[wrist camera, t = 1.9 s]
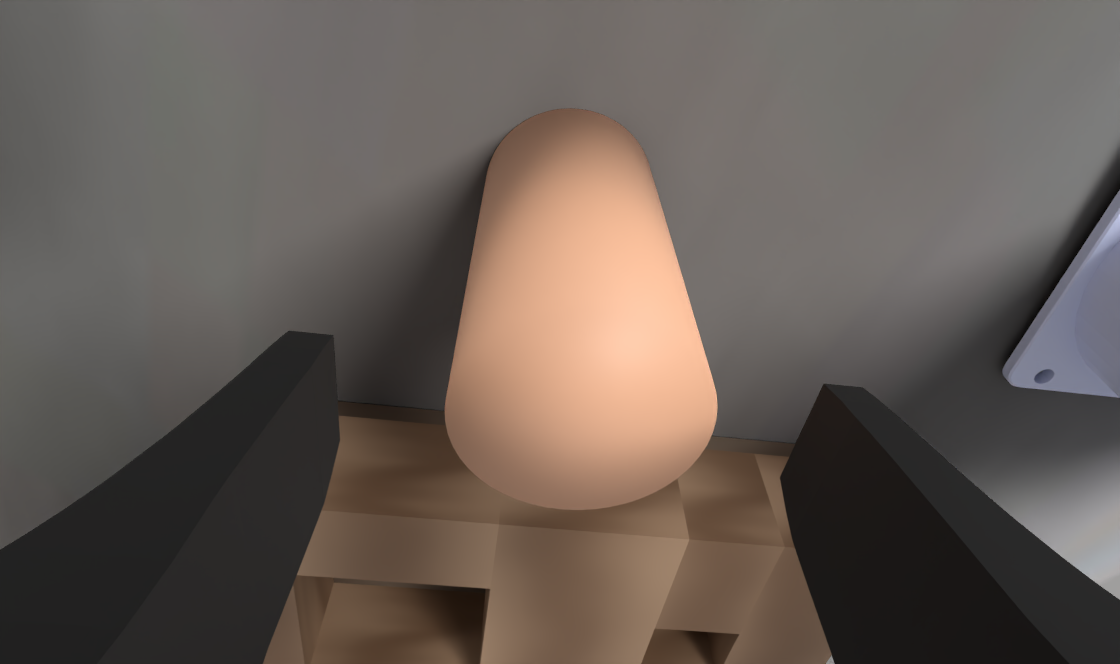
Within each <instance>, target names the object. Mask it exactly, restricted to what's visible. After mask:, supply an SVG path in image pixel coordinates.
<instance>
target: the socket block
mask: <svg viewBox="0 0 1120 664" xmlns="http://www.w3.org/2000/svg"><path fill="white" fill-rule="evenodd" d="M338 414H339V429H340V443H339V447H338V451H337V455H336V459H335V463H334V467H333V472H332V476H331V479H330V483H329V487H328V491H327V495H326V499H325V502H324V505H323V508H322V511H321V513H320V516H319V519H318V521H317V524H316V526H315V529H314V532H313V534H312V537H311V540H310V542H309V545H308V547H307V550H306V553H305V555H304V558H303V560H302V563H301V565H300V568H299V571H298V573H297V576H296V578H295V581H294V583H293V586H292V589H291V591H290V594H289V596H288V599H287V601H286V604H285V606H284V609H283V612H282V614H281V617H280V619H279V622H278V624H277V627H276V630H275V632H274V635H273V637H272V640H271V642H270V645H269V648H268V650H267V653H266V656H265V659H264V662H263V664H826V662H827V661H828V659H829V658H830V656H831V655H832V654H831V651H830V648H829V646H828V643H827V640H826V637H825V634H824V631H823V628H822V626H821V623H820V620H819V617H818V614H817V611H816V608H815V606H814V603H813V600H812V597H811V594H810V591H809V588H808V585H807V583H806V580H805V577H804V574H803V571H802V568H801V565H800V562H799V559H798V556H797V553H796V550H795V547H794V544H793V541H792V537H791V532H790V528H789V523H788V519H787V514H786V509H785V504H784V498H783V492H782V487H781V481H780V476H781V474H782V471H783V469H784V467H785V465H786V463H787V461H788V459H789V457H790V454H791V452H792V450H793V448H794V446H795V444H791V443H780V442H770V441H759V440H748V439H737V438H727V437H716V436H711V438H710V440H709V442H708V444H707V446H706V448H705V449H704V451H703V452H702V454H701V455H700V457H699V458H698V459H697V460H696V461H695V462H694V464H693V465H692V466H691V467H690V468H689V469H688V470H687V471H686V472H684V473H683V474H682V475H681V476H680V477H679V478H677V479H676V480H674V481H673V482H672V483H670V484H669V485H667V486H665V487H664V488H662V489H660V490H658V491H656V492H655V493H652V494H650V495H648V496H645V497H643V498H641V499H638V500H635V501H632V502H629V503H626V504H621V505H617V506H613V507H607V508H600V509H590V510H563V509H555V508H547V507H542V506H537V505H533V504H529V503H526V502H523V501H520V500H517V499H514V498H512V497H510V496H507V495H505V494H503V493H501V492H499V491H498V490H496V489H494V488H492V487H490V486H489V485H488V484H486V483H485V482H483V481H482V480H481V479H479V478H478V477H477V476H476V475H475V474H474V473H473V472H472V471H471V470H469V469H468V467H467V466H466V465H465V464H464V463H463V461H462V460H461V459H460V458H459V456H458V454H457V453H456V451H455V449H454V448H453V446H452V443H451V441H450V438H449V436H448V433H447V428H446V423H445V411H437V410H427V409H416V408H405V407H395V406H384V405H373V404H362V403H352V402H341V401H338Z"/></svg>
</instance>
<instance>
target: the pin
mask: <svg viewBox="0 0 1120 664" xmlns="http://www.w3.org/2000/svg"><path fill="white" fill-rule="evenodd" d="M717 408H718V406H717V394H716V390H715V386H714V382H713V379H712V375H711V372H710V369H709V365H708V362H707V358H706V355H705V352H704V348H703V345H702V342H701V338H700V335H699V331H698V328H697V325H696V321H695V318H694V315H693V311H692V308H691V304H690V301H689V298H688V294H687V291H686V288H685V284H684V281H683V278H682V274H681V271H680V267H679V264H678V261H677V257H676V254H675V251H674V247H673V244H672V240H671V237H670V234H669V230H668V227H667V224H666V220H665V217H664V213H663V210H662V207H661V203H660V200H659V197H658V193H657V190H656V186H655V183H654V180H653V176H652V173H651V170H650V166H649V163H648V160H647V158H646V155H645V153H644V151H643V149H642V148H641V146H640V144H639V143H638V142H637V140H636V139H635V138H634V137H633V135H632V134H631V133H630V132H629V131H627V130H626V129H625V128H624V127H623V126H622V125H620V124H619V123H617V122H616V121H614V120H612V119H610V118H608V117H606V116H604V115H602V114H599V113H596V112H593V111H588V110H583V109H571V108H569V109H557V110H552V111H547V112H544V113H541V114H538V115H535V116H533V117H531V118H529V119H527V120H525V121H524V122H522V123H521V124H519V125H518V126H516V127H515V128H514V129H513V130H512V131H511V132H509V133H508V134H507V135H506V137H505V138H504V139H503V140H502V141H501V143H500V144H499V146H498V147H497V149H496V150H495V152H494V154H493V156H492V159H491V161H490V164H489V167H488V170H487V176H486V181H485V187H484V192H483V198H482V203H481V209H480V214H479V220H478V225H477V230H476V236H475V241H474V247H473V252H472V258H471V263H470V269H469V274H468V280H467V285H466V291H465V296H464V302H463V307H462V313H461V318H460V324H459V329H458V335H457V340H456V346H455V351H454V357H453V362H452V367H451V373H450V378H449V384H448V389H447V395H446V402H445V423H446V428H447V433H448V436H449V438H450V441H451V443H452V446H453V448H454V449H455V451H456V453H457V454H458V456H459V458H460V459H461V460H462V461H463V463H464V464H465V465H466V466H467V467H468V469H469V470H471V471H472V472H473V473H474V474H475V475H476V476H477V477H478V478H479V479H481V480H482V481H483V482H485V483H486V484H488V485H489V486H490V487H492V488H494V489H496V490H498V491H499V492H501V493H503V494H505V495H507V496H510V497H512V498H514V499H517V500H520V501H523V502H526V503H529V504H533V505H537V506H542V507H547V508H555V509H563V510H590V509H600V508H607V507H613V506H617V505H621V504H626V503H629V502H632V501H635V500H638V499H641V498H643V497H645V496H648V495H650V494H652V493H655V492H656V491H658V490H660V489H662V488H664V487H665V486H667V485H669V484H670V483H672V482H673V481H674V480H676V479H677V478H679V477H680V476H681V475H682V474H683V473H684V472H686V471H687V470H688V469H689V468H690V467H691V466H692V465H693V464H694V462H695V461H696V460H697V459H698V458H699V457H700V455H701V454H702V452H703V451H704V449H705V448H706V446H707V444H708V442H709V440H710V438H711V436H712V433H713V430H714V426H715V423H716V418H717Z"/></svg>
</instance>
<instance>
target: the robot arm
mask: <svg viewBox="0 0 1120 664" xmlns="http://www.w3.org/2000/svg"><path fill="white" fill-rule="evenodd" d="M1042 370H1043V371H1042ZM1040 371H1042V372H1040ZM1002 372H1003V376H1004V377H1005V378H1006V379H1007V381H1008V382H1009V383H1010V384H1011V385H1012V386H1016V387H1022V388H1031V389H1041V390H1050V391H1060V392H1070V393H1079V394H1089V395H1098V396H1108V397H1118V398H1120V190H1119V191H1118V193H1117V195H1116V196H1115V198H1114V199H1113V201H1112V202H1111V204H1110V205H1109V207H1108V208H1107V210H1106V211H1105V213H1104V214H1103V216H1102V217H1101V219H1100V220H1099V222H1098V223H1097V225H1096V227H1095V228H1094V230H1093V231H1092V233H1091V234H1090V236H1089V237H1088V239H1087V240H1086V242H1085V243H1084V245H1083V246H1082V248H1081V249H1080V251H1079V252H1078V254H1077V255H1076V257H1075V259H1074V260H1073V262H1072V263H1071V265H1070V266H1069V268H1068V269H1067V271H1066V272H1065V274H1064V275H1063V277H1062V278H1061V280H1060V281H1059V283H1058V284H1057V286H1056V287H1055V289H1054V290H1053V292H1052V294H1051V295H1050V297H1049V298H1048V300H1047V301H1046V303H1045V304H1044V306H1043V307H1042V309H1041V310H1040V312H1039V313H1038V315H1037V316H1036V318H1035V319H1034V321H1033V322H1032V324H1031V326H1030V327H1029V329H1028V330H1027V332H1026V333H1025V335H1024V336H1023V338H1022V339H1021V341H1020V342H1019V344H1018V345H1017V347H1016V348H1015V350H1014V351H1013V353H1012V354H1011V356H1010V358H1009V359H1008V361H1007V362H1006V364H1005V365H1004V368H1003V370H1002ZM1039 372H1040V373H1039ZM339 443H340V429H339V414H338V399H337V384H336V368H335V353H334V338H333V335H326V334H316V333H306V332H296V331H288V332H287V333H285V334H284V335H283V336H282V337H280V338H279V339H278V340H277V341H276V342H275V343H273V344H272V345H271V346H270V347H269V348H268V349H267V350H265V351H264V352H263V353H262V354H261V355H260V356H259V357H258V358H256V359H255V360H254V361H253V362H252V363H251V364H250V365H249V366H247V367H246V368H245V369H244V370H243V371H242V372H241V373H240V374H238V375H237V376H236V377H235V378H234V379H233V380H232V381H230V382H229V383H228V384H227V385H226V386H225V387H223V388H222V389H221V390H220V391H219V392H218V393H217V394H215V395H214V396H213V397H212V398H211V399H209V400H208V401H207V402H206V403H205V404H203V405H202V406H201V407H200V408H199V409H197V410H196V411H195V412H194V413H193V414H191V415H190V416H189V417H188V418H187V419H185V420H184V421H183V422H182V423H181V424H179V425H178V426H177V427H176V428H174V429H173V430H172V431H171V432H169V433H168V434H167V435H166V436H164V437H163V438H162V439H160V440H159V441H158V442H156V443H155V444H154V445H153V446H151V447H150V448H149V449H147V450H146V451H145V452H143V453H142V454H141V455H139V456H138V457H137V458H135V459H134V460H133V461H131V462H130V463H129V464H127V465H126V466H125V467H123V468H122V469H121V470H119V471H118V472H117V473H116V474H114V475H113V476H111V477H110V478H109V479H107V480H106V481H105V482H103V483H102V484H100V485H99V486H97V487H96V488H95V489H93V490H92V491H90V492H89V493H87V494H86V495H85V496H83V497H82V498H80V499H79V500H77V501H76V502H74V503H73V504H71V505H70V506H69V507H67V508H66V509H64V510H63V511H61V512H59V513H58V514H56V515H55V516H53V517H52V518H50V519H49V520H47V521H46V522H44V523H42V524H41V525H39V526H38V527H36V528H35V529H33V530H32V531H30V532H28V533H27V534H25V535H24V536H22V537H20V538H19V539H17V540H16V541H14V542H12V543H11V544H9V545H7V546H6V547H4V548H2V549H1V550H0V664H263V662H264V659H265V656H266V653H267V650H268V648H269V645H270V642H271V640H272V637H273V635H274V632H275V630H276V627H277V624H278V622H279V619H280V617H281V614H282V612H283V609H284V606H285V604H286V601H287V599H288V596H289V594H290V591H291V589H292V586H293V583H294V581H295V578H296V576H297V573H298V571H299V568H300V565H301V563H302V560H303V558H304V555H305V553H306V550H307V547H308V545H309V542H310V540H311V537H312V534H313V532H314V529H315V526H316V524H317V521H318V519H319V516H320V513H321V511H322V508H323V505H324V502H325V499H326V495H327V491H328V487H329V483H330V479H331V476H332V472H333V467H334V463H335V459H336V455H337V451H338V447H339ZM780 481H781V487H782V492H783V498H784V504H785V509H786V514H787V519H788V523H789V528H790V532H791V537H792V541H793V544H794V547H795V550H796V553H797V556H798V559H799V562H800V565H801V568H802V571H803V574H804V577H805V580H806V583H807V585H808V588H809V591H810V594H811V597H812V600H813V603H814V606H815V608H816V611H817V614H818V617H819V620H820V623H821V626H822V628H823V631H824V634H825V637H826V640H827V643H828V646H829V648H830V651H831V654H832V657H833V660H834V663H835V664H1120V600H1119V599H1118V598H1116V597H1115V596H1113V595H1112V594H1111V593H1109V592H1108V591H1106V590H1105V589H1103V588H1102V587H1101V586H1099V585H1098V584H1097V583H1095V582H1094V581H1093V580H1091V579H1090V578H1089V577H1087V576H1086V575H1085V574H1083V573H1082V572H1081V571H1079V570H1078V569H1077V568H1075V567H1074V566H1073V565H1071V564H1070V563H1069V562H1067V561H1066V560H1065V559H1064V558H1062V557H1061V556H1060V555H1059V554H1057V553H1056V552H1055V551H1054V550H1052V549H1051V548H1050V547H1049V546H1047V545H1046V544H1045V543H1044V542H1042V541H1041V540H1040V539H1039V538H1037V537H1036V536H1035V535H1034V534H1032V533H1031V532H1030V531H1029V530H1028V529H1026V528H1025V527H1024V526H1023V525H1021V524H1020V523H1019V522H1018V521H1016V520H1015V519H1014V518H1013V517H1012V516H1010V515H1009V514H1008V513H1007V512H1006V511H1005V510H1003V509H1002V508H1001V507H1000V506H999V505H997V504H996V503H995V502H994V501H993V500H992V499H990V498H989V497H988V496H987V495H986V494H985V493H983V492H982V491H981V490H980V489H979V488H978V487H976V486H975V485H974V484H973V483H972V482H971V481H970V480H968V479H967V478H966V477H965V476H964V475H963V474H962V473H961V472H959V471H958V470H957V469H956V468H955V467H954V466H953V465H951V464H950V463H949V462H948V461H947V460H946V459H945V458H944V457H943V456H941V455H940V454H939V453H938V452H937V451H936V450H935V449H934V448H932V447H931V446H930V445H929V444H928V443H927V442H926V441H925V440H924V439H922V438H921V437H920V436H919V435H918V434H917V433H916V432H915V431H913V430H912V429H911V428H910V427H909V426H908V425H907V424H906V423H904V422H903V421H902V420H901V419H900V418H899V417H898V416H897V415H895V414H894V413H893V412H892V411H891V410H890V409H888V408H887V407H886V406H885V405H884V404H883V403H881V402H880V401H879V400H878V399H877V398H875V397H874V396H873V395H871V394H870V393H869V392H868V391H866V390H865V389H864V388H862V387H852V386H841V385H831V384H823V387H822V389H821V391H820V393H819V395H818V397H817V399H816V401H815V404H814V406H813V408H812V410H811V412H810V414H809V416H808V418H807V421H806V423H805V425H804V427H803V429H802V431H801V433H800V435H799V438H798V440H797V442H796V444H795V446H794V448H793V450H792V452H791V454H790V457H789V459H788V461H787V463H786V465H785V467H784V469H783V471H782V474H781V476H780Z"/></svg>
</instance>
